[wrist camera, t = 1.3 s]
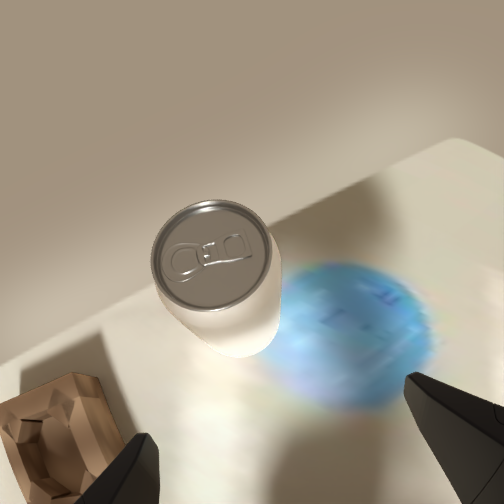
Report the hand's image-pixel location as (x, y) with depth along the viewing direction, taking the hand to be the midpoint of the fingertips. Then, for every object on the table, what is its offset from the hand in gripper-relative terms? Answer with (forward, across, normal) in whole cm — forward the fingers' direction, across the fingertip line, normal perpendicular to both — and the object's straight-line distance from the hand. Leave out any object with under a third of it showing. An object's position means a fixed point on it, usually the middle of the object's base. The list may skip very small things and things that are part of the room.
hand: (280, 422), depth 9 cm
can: (+15, +2, +4) cm, 16 cm away
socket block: (+8, +19, +11) cm, 23 cm away
